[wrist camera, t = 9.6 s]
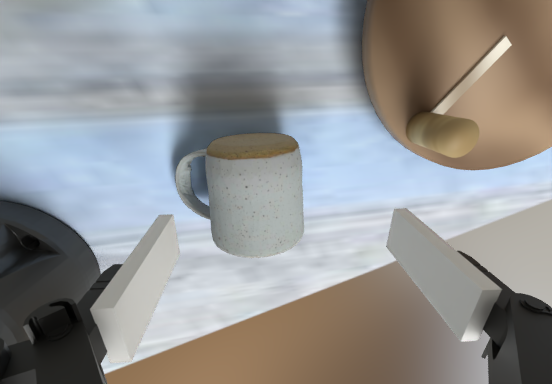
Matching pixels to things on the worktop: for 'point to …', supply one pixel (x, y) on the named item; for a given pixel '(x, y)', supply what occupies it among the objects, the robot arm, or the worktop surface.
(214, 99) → the worktop surface
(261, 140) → the ceramic mug
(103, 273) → the robot arm
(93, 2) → the worktop surface
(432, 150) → the disc
